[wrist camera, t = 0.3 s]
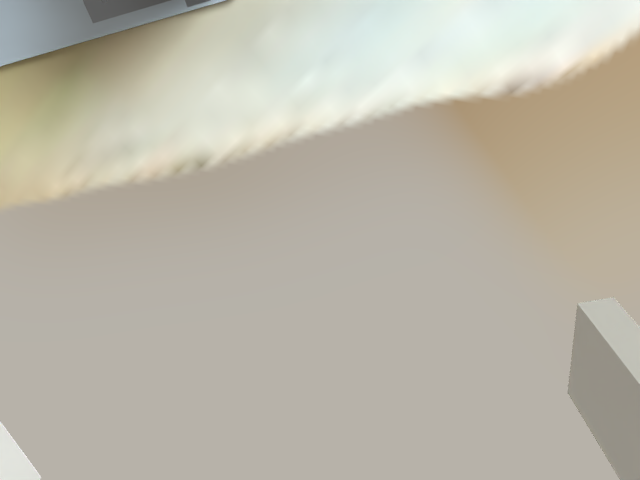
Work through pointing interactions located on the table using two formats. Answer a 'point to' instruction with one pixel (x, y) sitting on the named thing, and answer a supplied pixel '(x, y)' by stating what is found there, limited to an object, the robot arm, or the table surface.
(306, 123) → the table surface
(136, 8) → the brackets
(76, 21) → the wall board
